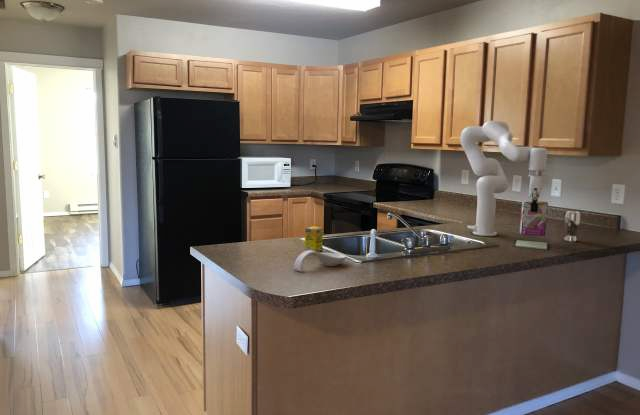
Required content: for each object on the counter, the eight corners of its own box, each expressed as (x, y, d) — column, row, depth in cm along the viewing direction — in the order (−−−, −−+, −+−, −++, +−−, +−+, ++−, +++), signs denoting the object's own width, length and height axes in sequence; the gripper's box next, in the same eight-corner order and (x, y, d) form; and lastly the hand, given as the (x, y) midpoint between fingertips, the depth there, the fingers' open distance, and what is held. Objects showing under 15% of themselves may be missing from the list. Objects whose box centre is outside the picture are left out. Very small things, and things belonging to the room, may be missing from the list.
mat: (515, 246, 247) (515, 245, 247) (516, 241, 260) (516, 240, 260) (546, 249, 242) (546, 248, 241) (546, 244, 254) (547, 242, 254)
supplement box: (315, 254, 224) (316, 229, 222) (304, 252, 227) (304, 228, 225) (322, 251, 229) (323, 227, 227) (311, 249, 232) (312, 226, 230)
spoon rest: (331, 259, 215) (331, 242, 214) (351, 265, 206) (352, 247, 205) (287, 268, 199) (287, 250, 198) (307, 275, 190) (308, 256, 189)
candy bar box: (521, 234, 249) (523, 201, 246) (519, 233, 253) (521, 200, 251) (545, 236, 246) (548, 202, 244) (543, 234, 251) (546, 201, 249)
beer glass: (571, 242, 259) (574, 213, 257) (559, 240, 265) (562, 211, 263) (580, 241, 262) (583, 212, 260) (568, 239, 268) (571, 210, 266)
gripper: (529, 172, 255) (526, 208, 257) (527, 174, 239) (525, 212, 242) (545, 172, 252) (542, 209, 254) (545, 175, 236) (542, 213, 239)
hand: (534, 210), depth 248 cm, fingers closed on candy bar box, 5 cm apart
